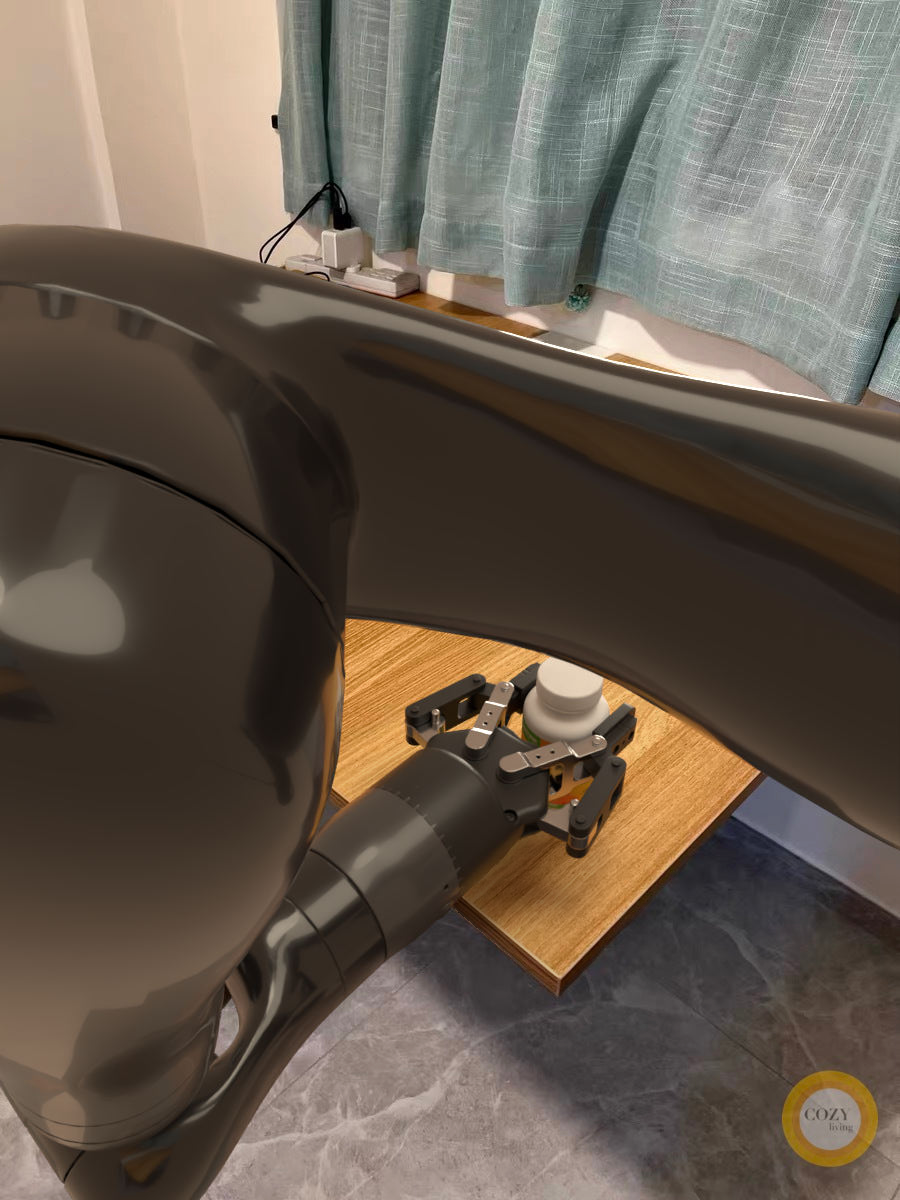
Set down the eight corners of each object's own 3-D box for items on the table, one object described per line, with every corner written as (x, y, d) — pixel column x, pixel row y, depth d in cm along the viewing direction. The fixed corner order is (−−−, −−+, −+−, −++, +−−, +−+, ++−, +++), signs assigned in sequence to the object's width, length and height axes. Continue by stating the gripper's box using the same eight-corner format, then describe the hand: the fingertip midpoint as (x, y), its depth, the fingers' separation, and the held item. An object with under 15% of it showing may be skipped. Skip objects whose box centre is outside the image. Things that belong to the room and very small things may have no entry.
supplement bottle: (500, 785, 59) (507, 675, 53) (550, 742, 62) (561, 635, 56) (565, 830, 56) (580, 719, 50) (614, 782, 59) (633, 673, 53)
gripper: (511, 887, 41) (699, 701, 51) (308, 735, 48) (505, 600, 58) (504, 977, 45) (679, 790, 55) (319, 824, 53) (501, 685, 63)
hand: (589, 693), depth 57 cm, fingers closed on supplement bottle, 5 cm apart
